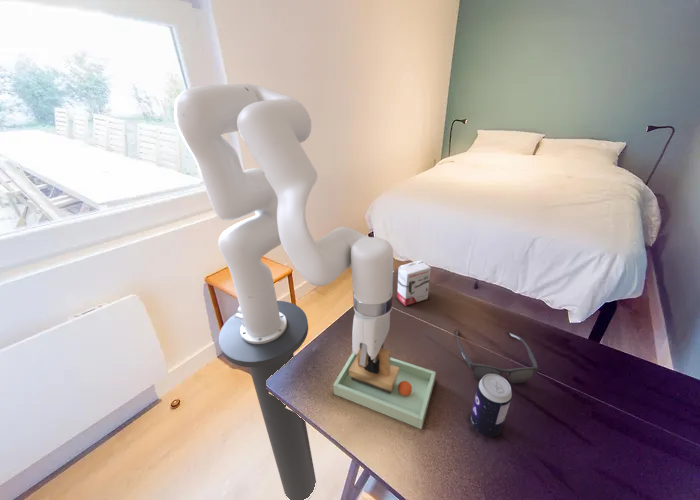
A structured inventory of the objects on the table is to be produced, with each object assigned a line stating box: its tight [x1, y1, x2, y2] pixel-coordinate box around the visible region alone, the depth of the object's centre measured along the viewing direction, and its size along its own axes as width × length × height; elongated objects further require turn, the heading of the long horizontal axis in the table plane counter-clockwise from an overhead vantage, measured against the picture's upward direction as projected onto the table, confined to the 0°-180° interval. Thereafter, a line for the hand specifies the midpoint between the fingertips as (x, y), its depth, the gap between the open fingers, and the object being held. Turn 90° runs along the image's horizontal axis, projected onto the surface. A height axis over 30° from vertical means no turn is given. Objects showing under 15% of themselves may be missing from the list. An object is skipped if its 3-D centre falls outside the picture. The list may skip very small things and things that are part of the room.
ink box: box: [396, 259, 432, 307], centre depth 95 cm, size 9×5×12 cm, turn 114°
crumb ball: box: [398, 381, 412, 396], centre depth 68 cm, size 3×3×3 cm
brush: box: [349, 348, 399, 394], centre depth 68 cm, size 10×5×10 cm, turn 65°
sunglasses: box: [455, 330, 539, 384], centre depth 76 cm, size 16×17×5 cm
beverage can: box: [470, 374, 513, 438], centre depth 59 cm, size 6×6×12 cm
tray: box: [333, 352, 437, 430], centre depth 70 cm, size 20×12×3 cm, turn 65°
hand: (373, 366), depth 69 cm, fingers closed on brush
